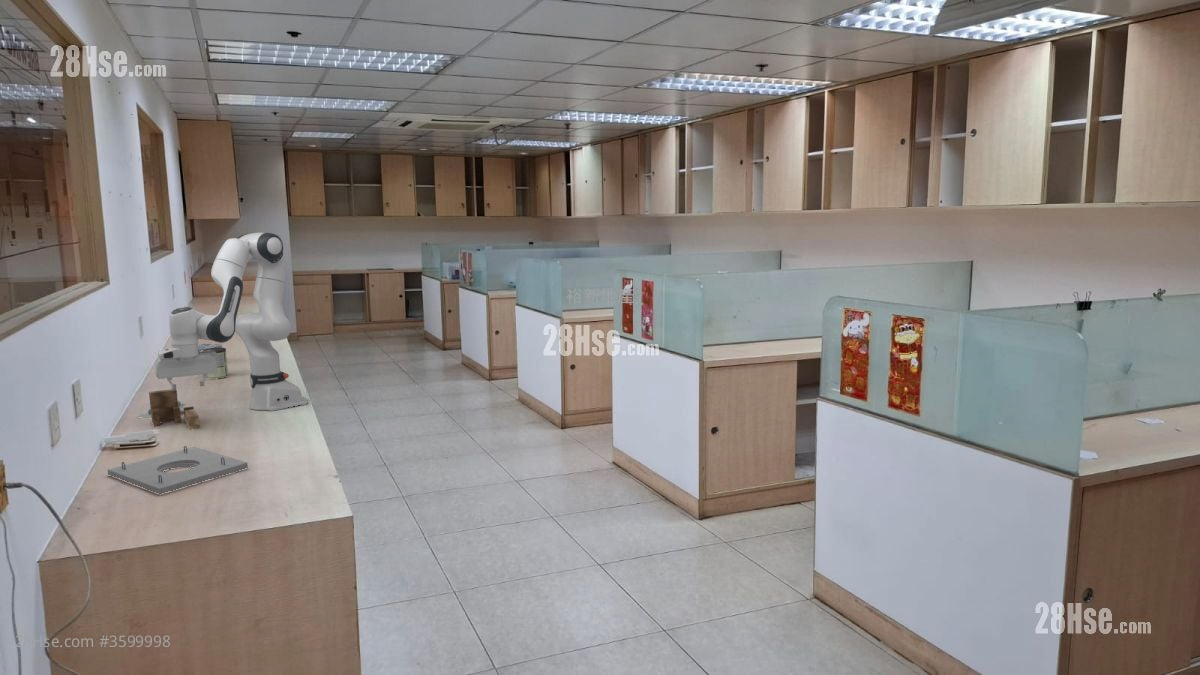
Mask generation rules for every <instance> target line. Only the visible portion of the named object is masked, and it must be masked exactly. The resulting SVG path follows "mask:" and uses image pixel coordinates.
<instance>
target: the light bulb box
mask: <svg viewBox="0 0 1200 675" xmlns="http://www.w3.org/2000/svg"><path fill="white" fill-rule="evenodd" d="M198 348H199V350H204V349H208V348H223V343H203V344H198Z"/></svg>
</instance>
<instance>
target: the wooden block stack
mask: <svg viewBox="0 0 1200 675" xmlns="http://www.w3.org/2000/svg"><path fill="white" fill-rule="evenodd" d="M148 395H149V404H150V405H149V407H150V408H149V409H151V418H152V419H151V423H153V424H152V426H153V425H154V426H158V427H161V423H160V422H164V423H168V422H169V423H170V422H173V423H174V424H175V425H177V424H182V416H181V408H179V406H178V401H179V400H178V391H177V388H176V389H173V390H172V388H170V389H163V390H154V391H148ZM154 426H153V427H154Z"/></svg>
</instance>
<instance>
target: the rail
mask: <svg viewBox="0 0 1200 675" xmlns="http://www.w3.org/2000/svg"><path fill="white" fill-rule="evenodd" d="M183 418H184V423H185V425H186V426H187V428H188V430H189V431H191V430H192V429H193V430H198V429H199V428H200V426H201V425H200V417H199V414H198V413H197V411H196V410H195V407H194V406H186V407H183ZM193 430H192V431H193Z"/></svg>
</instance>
